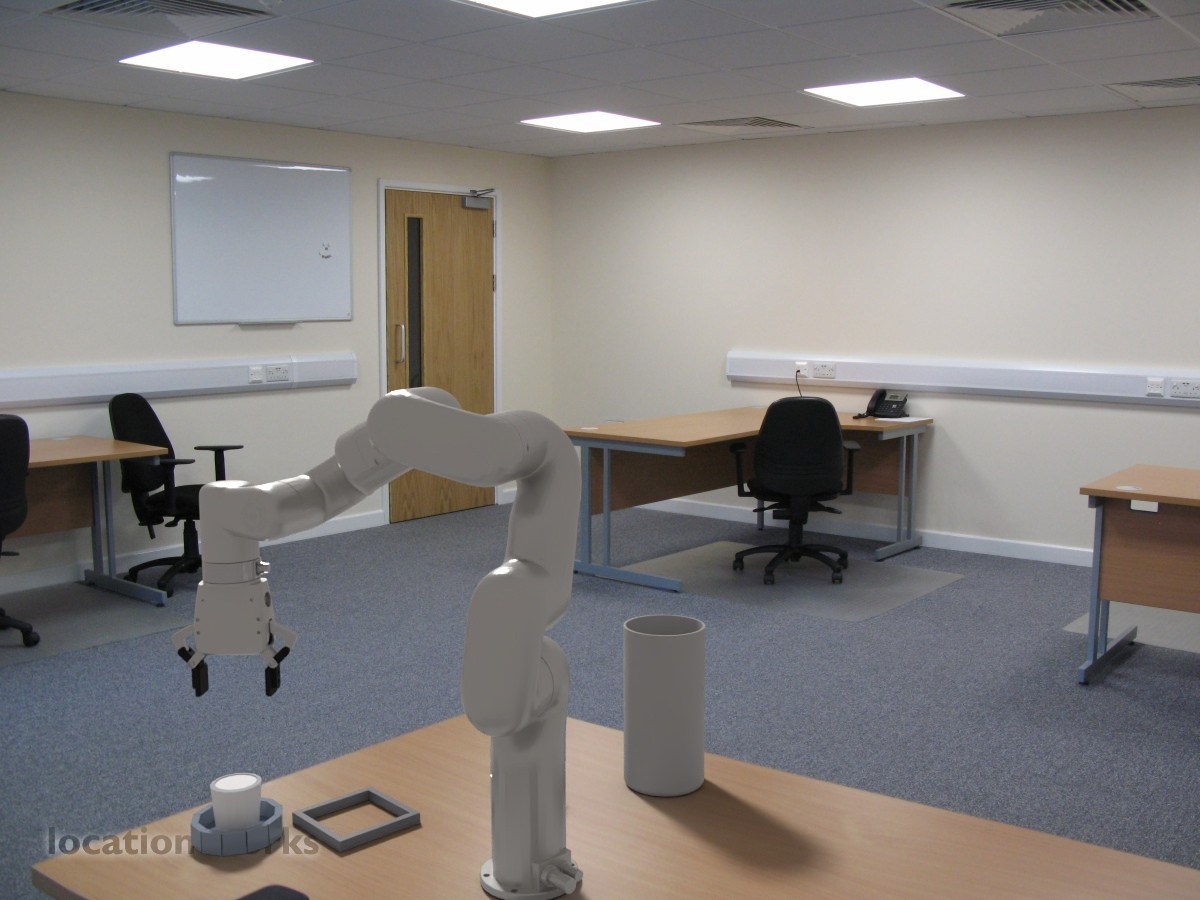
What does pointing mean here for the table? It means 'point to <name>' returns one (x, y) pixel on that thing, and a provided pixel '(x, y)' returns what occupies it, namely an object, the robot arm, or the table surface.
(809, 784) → the table surface
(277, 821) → the bowl
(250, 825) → the white cup
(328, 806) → the grey square frame
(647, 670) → the cylinder vase
